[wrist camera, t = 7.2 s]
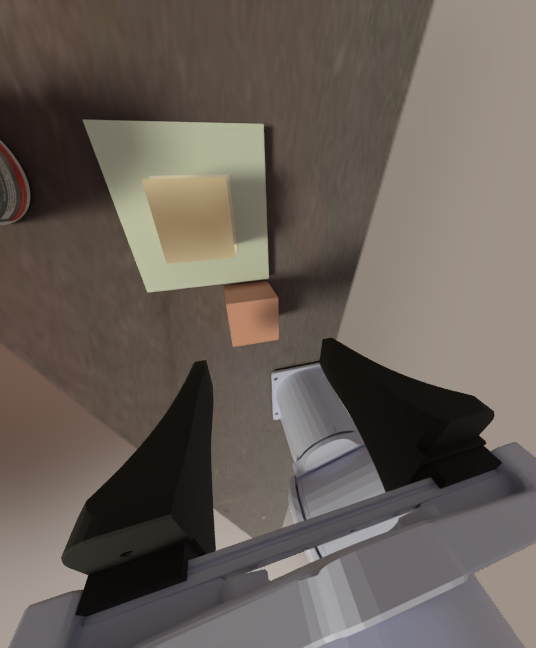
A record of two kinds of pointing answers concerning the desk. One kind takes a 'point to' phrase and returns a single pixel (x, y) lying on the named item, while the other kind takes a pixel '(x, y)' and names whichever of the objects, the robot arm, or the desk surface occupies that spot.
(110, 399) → the desk surface
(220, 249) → the beech cube
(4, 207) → the pill bottle
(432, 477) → the robot arm
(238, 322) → the terracotta cube
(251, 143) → the board
